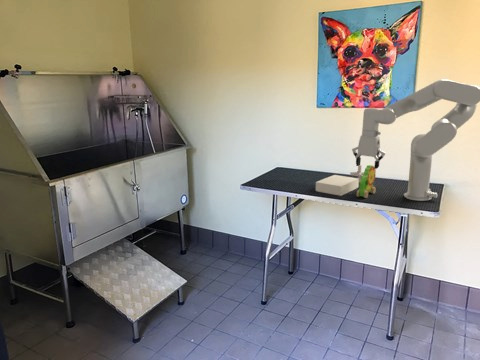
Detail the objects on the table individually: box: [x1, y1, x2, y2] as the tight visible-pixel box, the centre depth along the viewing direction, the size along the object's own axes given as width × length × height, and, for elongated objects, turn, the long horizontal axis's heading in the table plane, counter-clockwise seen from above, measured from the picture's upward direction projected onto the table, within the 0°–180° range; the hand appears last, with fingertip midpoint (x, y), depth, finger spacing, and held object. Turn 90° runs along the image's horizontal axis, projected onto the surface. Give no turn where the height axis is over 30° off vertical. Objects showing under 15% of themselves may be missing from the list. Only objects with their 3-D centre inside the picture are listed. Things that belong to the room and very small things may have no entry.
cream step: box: [315, 174, 360, 197], centre depth 216 cm, size 15×20×5 cm
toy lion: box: [356, 165, 377, 199], centre depth 204 cm, size 16×5×15 cm, turn 141°
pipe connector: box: [349, 164, 364, 184], centre depth 228 cm, size 10×10×10 cm
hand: (367, 166), depth 203 cm, fingers open, 9 cm apart
